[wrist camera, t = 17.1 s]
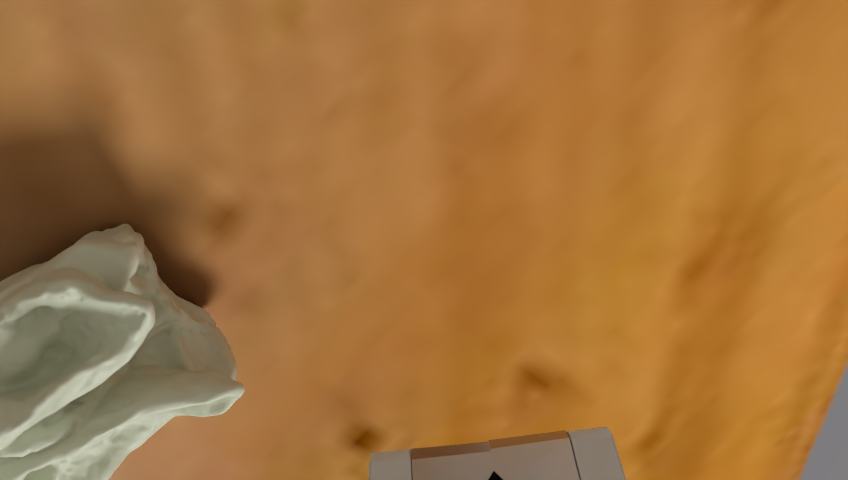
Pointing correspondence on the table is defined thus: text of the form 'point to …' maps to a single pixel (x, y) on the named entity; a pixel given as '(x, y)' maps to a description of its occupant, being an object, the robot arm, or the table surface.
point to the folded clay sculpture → (101, 360)
